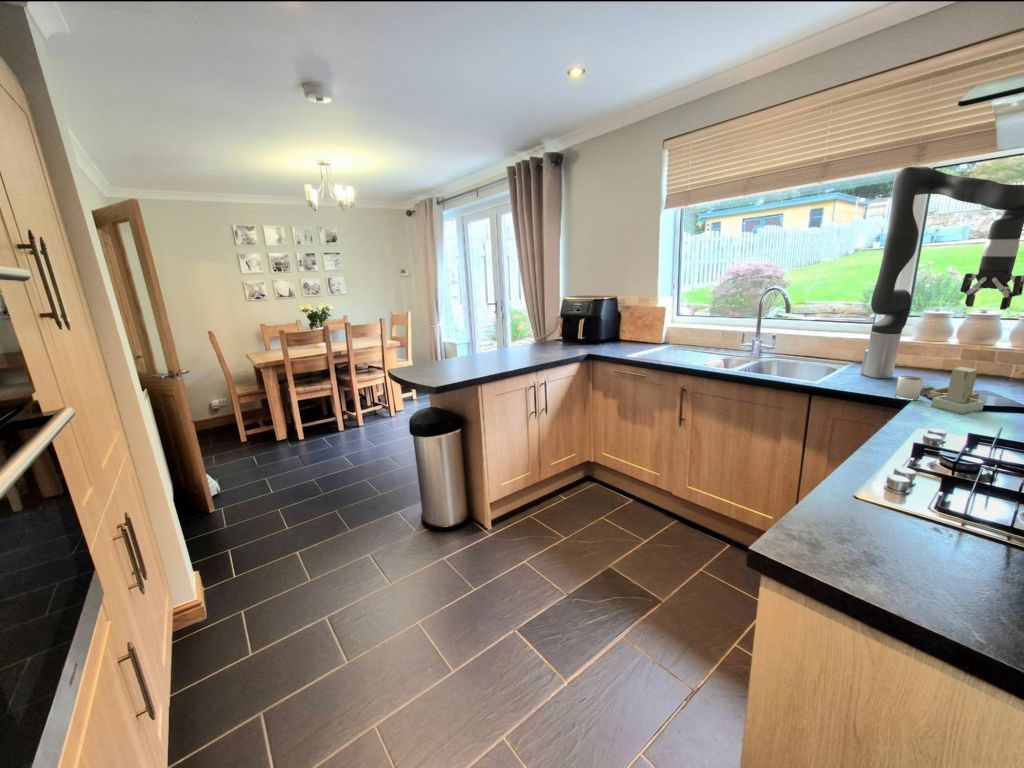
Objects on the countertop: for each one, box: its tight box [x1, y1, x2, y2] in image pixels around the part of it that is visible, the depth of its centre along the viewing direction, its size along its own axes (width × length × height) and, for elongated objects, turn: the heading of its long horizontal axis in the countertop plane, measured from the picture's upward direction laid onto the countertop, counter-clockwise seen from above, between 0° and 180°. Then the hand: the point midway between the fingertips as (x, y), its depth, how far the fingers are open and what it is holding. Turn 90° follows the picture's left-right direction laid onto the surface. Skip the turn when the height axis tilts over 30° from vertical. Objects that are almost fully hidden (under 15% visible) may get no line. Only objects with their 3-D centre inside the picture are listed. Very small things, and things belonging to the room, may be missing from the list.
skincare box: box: [946, 366, 978, 405], centre depth 150 cm, size 6×4×12 cm
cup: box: [894, 374, 924, 401], centre depth 161 cm, size 6×6×7 cm
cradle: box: [921, 386, 980, 400], centre depth 162 cm, size 14×11×2 cm
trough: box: [930, 395, 985, 416], centre depth 151 cm, size 8×10×3 cm
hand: (985, 308), depth 152 cm, fingers open, 8 cm apart
